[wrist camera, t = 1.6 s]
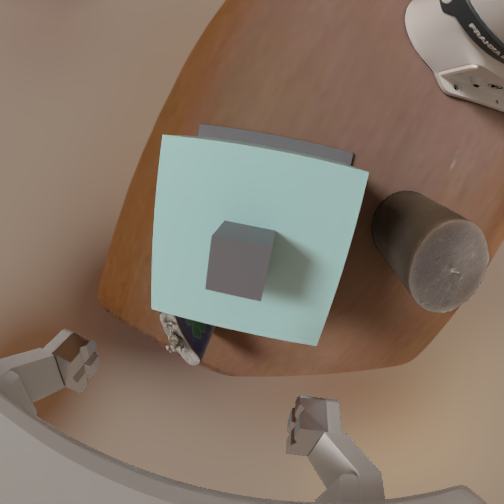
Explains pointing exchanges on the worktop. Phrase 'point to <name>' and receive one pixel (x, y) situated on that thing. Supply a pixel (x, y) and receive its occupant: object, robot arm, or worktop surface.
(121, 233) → the worktop surface
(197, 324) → the flask
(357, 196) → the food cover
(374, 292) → the worktop surface
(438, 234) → the pillar candle
